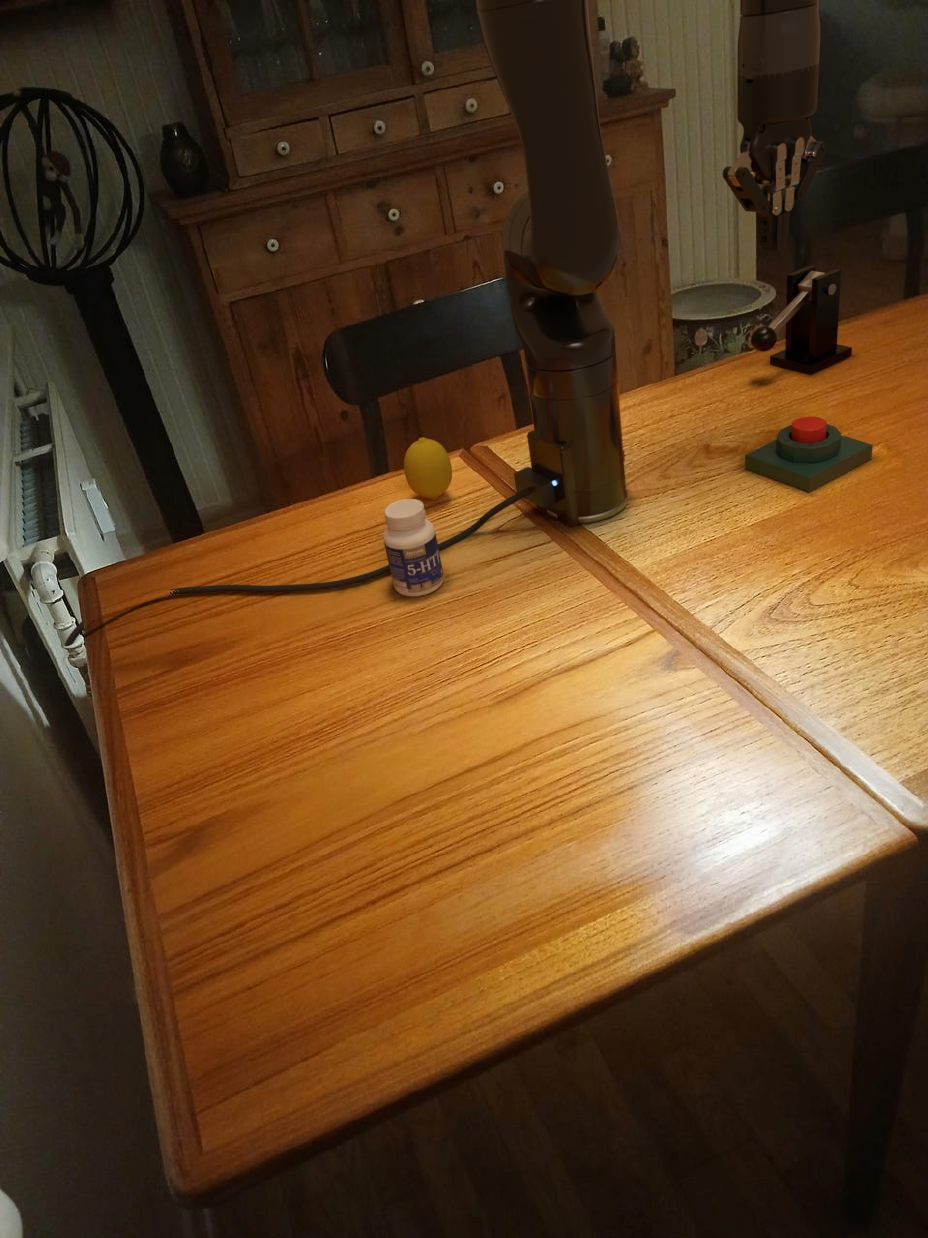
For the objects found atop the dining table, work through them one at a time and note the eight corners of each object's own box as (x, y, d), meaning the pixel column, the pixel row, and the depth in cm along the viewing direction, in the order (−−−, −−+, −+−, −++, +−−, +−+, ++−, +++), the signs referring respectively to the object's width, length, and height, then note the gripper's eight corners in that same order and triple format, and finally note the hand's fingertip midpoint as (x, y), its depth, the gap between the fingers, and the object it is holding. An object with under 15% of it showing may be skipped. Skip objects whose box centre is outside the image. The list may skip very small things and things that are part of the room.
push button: (810, 448, 102) (811, 433, 101) (783, 439, 105) (784, 424, 104) (833, 436, 103) (834, 421, 102) (806, 428, 106) (807, 413, 105)
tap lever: (768, 359, 123) (761, 340, 121) (750, 354, 125) (742, 335, 123) (833, 290, 124) (827, 270, 122) (813, 286, 127) (807, 267, 124)
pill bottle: (415, 603, 95) (398, 526, 90) (384, 587, 99) (366, 512, 94) (455, 579, 98) (440, 503, 93) (423, 564, 101) (407, 490, 96)
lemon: (435, 485, 117) (423, 424, 112) (466, 495, 113) (455, 433, 109) (402, 504, 114) (388, 443, 109) (433, 515, 110) (420, 452, 106)
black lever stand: (810, 374, 126) (814, 284, 119) (769, 364, 131) (771, 277, 124) (851, 355, 129) (857, 266, 122) (809, 346, 134) (813, 260, 127)
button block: (809, 492, 101) (810, 462, 99) (744, 468, 107) (744, 439, 105) (871, 458, 104) (874, 429, 102) (805, 437, 111) (806, 409, 109)
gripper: (795, 52, 97) (790, 229, 107) (699, 78, 92) (702, 261, 102) (857, 49, 91) (845, 236, 101) (757, 77, 87) (755, 271, 96)
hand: (773, 249), depth 101 cm, fingers closed
